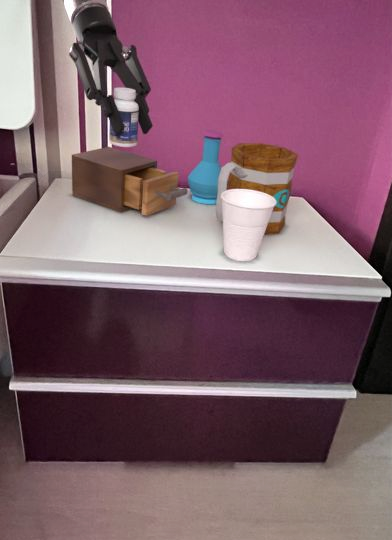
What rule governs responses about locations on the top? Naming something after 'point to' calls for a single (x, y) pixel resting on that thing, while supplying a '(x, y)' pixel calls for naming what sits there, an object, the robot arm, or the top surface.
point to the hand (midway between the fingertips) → (134, 130)
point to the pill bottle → (126, 118)
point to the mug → (260, 177)
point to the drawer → (151, 190)
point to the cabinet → (105, 175)
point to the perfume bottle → (207, 170)
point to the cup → (245, 222)
